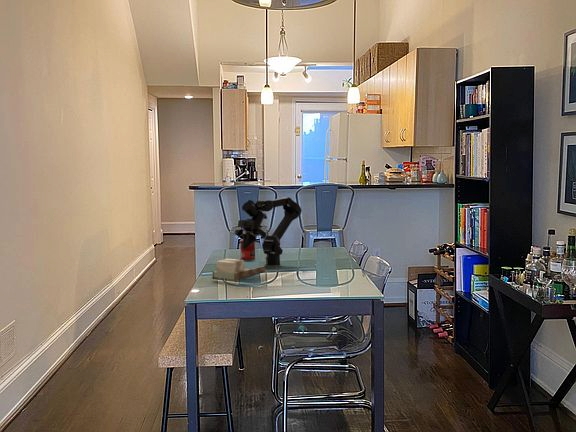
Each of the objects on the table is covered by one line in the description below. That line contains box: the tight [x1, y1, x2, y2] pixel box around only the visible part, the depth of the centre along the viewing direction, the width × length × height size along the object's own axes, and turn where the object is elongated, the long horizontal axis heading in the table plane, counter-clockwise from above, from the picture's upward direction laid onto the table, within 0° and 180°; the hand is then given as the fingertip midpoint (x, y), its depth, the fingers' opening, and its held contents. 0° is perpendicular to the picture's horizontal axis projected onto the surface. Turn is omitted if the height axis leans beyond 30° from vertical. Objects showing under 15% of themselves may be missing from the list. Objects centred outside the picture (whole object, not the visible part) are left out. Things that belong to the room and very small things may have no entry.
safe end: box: [213, 272, 235, 283], centre depth 267 cm, size 10×14×4 cm
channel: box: [212, 265, 266, 283], centre depth 273 cm, size 23×14×4 cm, turn 146°
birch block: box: [216, 258, 245, 274], centre depth 267 cm, size 8×10×8 cm
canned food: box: [240, 238, 256, 260], centre depth 320 cm, size 8×8×11 cm
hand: (243, 248), depth 278 cm, fingers closed
